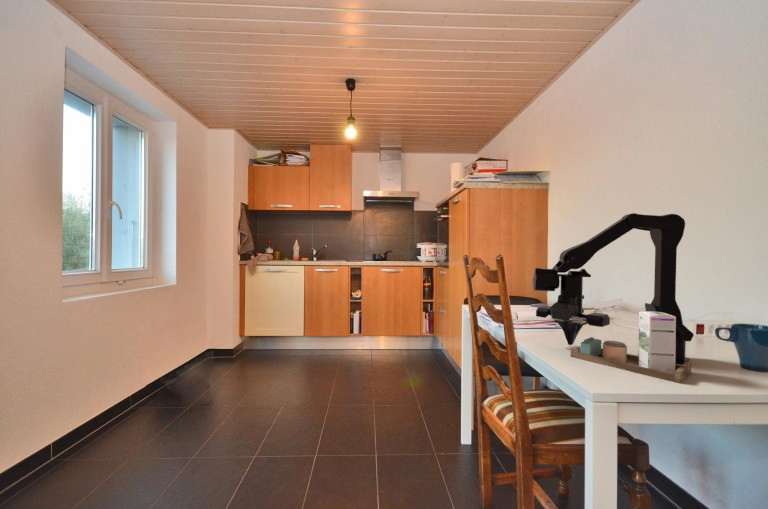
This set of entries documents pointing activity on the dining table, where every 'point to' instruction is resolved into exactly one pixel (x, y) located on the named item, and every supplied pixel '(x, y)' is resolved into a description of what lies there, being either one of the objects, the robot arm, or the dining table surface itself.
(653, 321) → the syrup box
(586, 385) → the dining table surface
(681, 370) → the lane
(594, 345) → the block
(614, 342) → the jar
